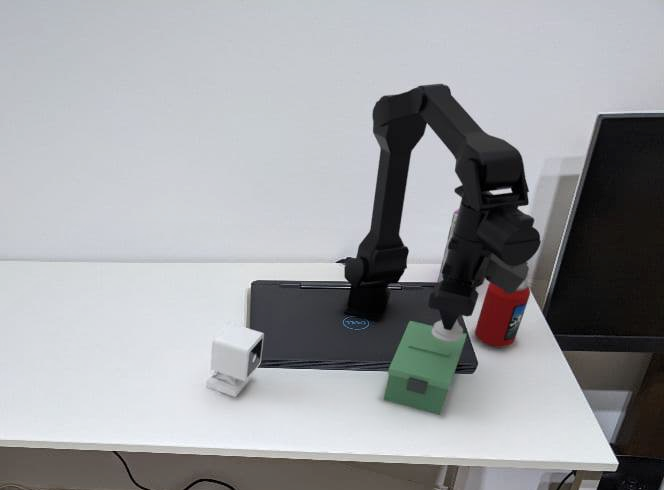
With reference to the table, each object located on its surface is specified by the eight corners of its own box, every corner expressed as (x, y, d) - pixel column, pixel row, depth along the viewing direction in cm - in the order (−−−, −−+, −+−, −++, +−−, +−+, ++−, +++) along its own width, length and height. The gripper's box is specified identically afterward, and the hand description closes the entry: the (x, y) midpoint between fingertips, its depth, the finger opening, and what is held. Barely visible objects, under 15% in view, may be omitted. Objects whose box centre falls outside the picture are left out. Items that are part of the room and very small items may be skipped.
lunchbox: (381, 401, 138) (388, 367, 133) (403, 349, 149) (410, 317, 145) (440, 417, 134) (450, 383, 130) (458, 363, 146) (468, 330, 141)
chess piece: (437, 343, 133) (448, 299, 128) (426, 327, 136) (437, 283, 131) (466, 342, 133) (479, 298, 128) (455, 326, 137) (467, 282, 132)
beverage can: (516, 352, 148) (536, 292, 141) (475, 348, 149) (493, 288, 142) (510, 331, 153) (529, 272, 146) (471, 327, 154) (488, 269, 147)
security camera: (242, 401, 138) (247, 350, 132) (204, 388, 141) (207, 337, 135) (259, 381, 142) (264, 331, 136) (221, 368, 145) (225, 319, 139)
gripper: (524, 274, 114) (494, 368, 124) (540, 218, 127) (512, 308, 137) (439, 256, 118) (416, 349, 128) (463, 204, 131) (441, 292, 141)
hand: (449, 324), depth 133 cm, fingers closed on chess piece, 3 cm apart
